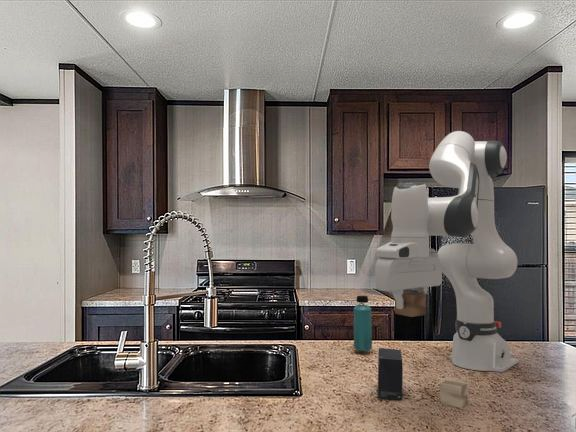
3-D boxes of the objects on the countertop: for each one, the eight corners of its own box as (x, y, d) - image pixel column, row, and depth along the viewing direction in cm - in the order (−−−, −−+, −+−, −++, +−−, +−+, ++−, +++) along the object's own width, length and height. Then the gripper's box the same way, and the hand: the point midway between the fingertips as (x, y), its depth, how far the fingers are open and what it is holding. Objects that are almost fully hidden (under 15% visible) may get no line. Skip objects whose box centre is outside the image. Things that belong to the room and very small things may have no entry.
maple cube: (447, 397, 118) (447, 378, 119) (467, 402, 115) (467, 382, 115) (440, 403, 115) (440, 383, 115) (460, 408, 111) (460, 387, 112)
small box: (403, 401, 116) (403, 359, 116) (377, 399, 117) (377, 357, 118) (401, 387, 126) (401, 348, 127) (377, 385, 128) (377, 347, 128)
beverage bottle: (373, 355, 158) (373, 297, 159) (354, 355, 158) (354, 297, 159) (370, 350, 165) (370, 294, 165) (352, 350, 165) (352, 294, 165)
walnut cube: (409, 311, 113) (409, 291, 113) (425, 314, 109) (425, 293, 109) (395, 313, 110) (395, 292, 110) (411, 317, 106) (411, 295, 106)
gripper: (427, 247, 118) (427, 301, 118) (370, 249, 107) (370, 309, 106) (448, 248, 113) (448, 305, 113) (391, 250, 101) (391, 313, 101)
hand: (410, 307), depth 109 cm, fingers closed on walnut cube, 5 cm apart
